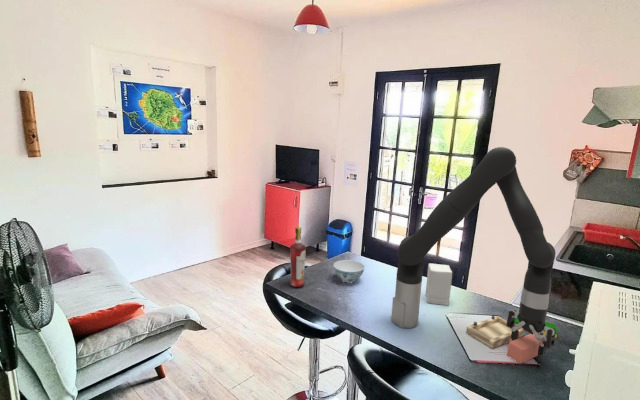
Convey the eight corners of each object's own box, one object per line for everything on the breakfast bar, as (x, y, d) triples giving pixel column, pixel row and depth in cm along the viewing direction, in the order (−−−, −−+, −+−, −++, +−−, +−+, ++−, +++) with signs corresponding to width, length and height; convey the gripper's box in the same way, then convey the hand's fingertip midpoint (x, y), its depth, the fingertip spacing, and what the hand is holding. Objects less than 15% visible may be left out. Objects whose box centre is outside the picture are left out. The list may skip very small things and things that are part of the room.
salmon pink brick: (520, 364, 108) (522, 348, 106) (506, 356, 111) (509, 340, 110) (544, 353, 113) (546, 338, 112) (530, 345, 117) (533, 331, 116)
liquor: (296, 280, 164) (297, 224, 158) (308, 285, 159) (309, 227, 154) (286, 285, 158) (286, 227, 152) (298, 290, 153) (299, 230, 148)
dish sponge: (556, 339, 122) (557, 333, 122) (512, 327, 129) (513, 321, 129) (554, 329, 128) (555, 324, 128) (513, 319, 135) (513, 313, 135)
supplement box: (449, 306, 143) (453, 272, 140) (427, 303, 145) (430, 270, 142) (446, 296, 152) (449, 264, 149) (425, 294, 154) (428, 262, 151)
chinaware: (365, 287, 158) (366, 272, 157) (333, 286, 158) (333, 271, 157) (361, 274, 173) (362, 260, 172) (332, 273, 173) (333, 259, 172)
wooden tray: (492, 348, 115) (493, 339, 114) (466, 332, 124) (467, 323, 123) (523, 336, 123) (524, 327, 122) (496, 321, 132) (498, 313, 131)
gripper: (505, 295, 114) (499, 339, 116) (550, 315, 101) (542, 364, 104) (519, 291, 117) (513, 334, 120) (564, 310, 105) (556, 357, 108)
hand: (527, 348), depth 112 cm, fingers open, 8 cm apart
